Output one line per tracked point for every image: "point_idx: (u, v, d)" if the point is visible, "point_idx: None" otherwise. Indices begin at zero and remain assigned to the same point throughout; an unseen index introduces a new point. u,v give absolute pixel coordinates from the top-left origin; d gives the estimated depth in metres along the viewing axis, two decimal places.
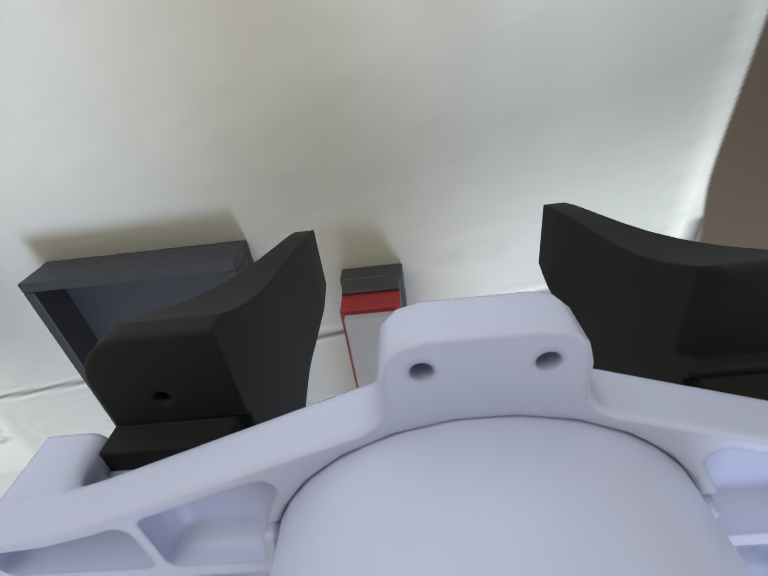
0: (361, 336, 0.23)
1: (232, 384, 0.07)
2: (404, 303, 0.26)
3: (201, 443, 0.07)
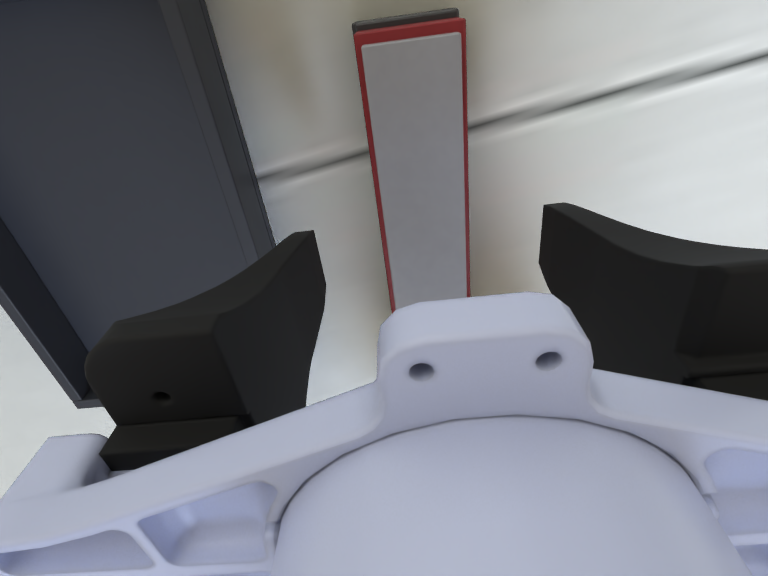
0: (392, 87, 0.13)
1: (232, 384, 0.07)
2: None
3: (201, 443, 0.07)
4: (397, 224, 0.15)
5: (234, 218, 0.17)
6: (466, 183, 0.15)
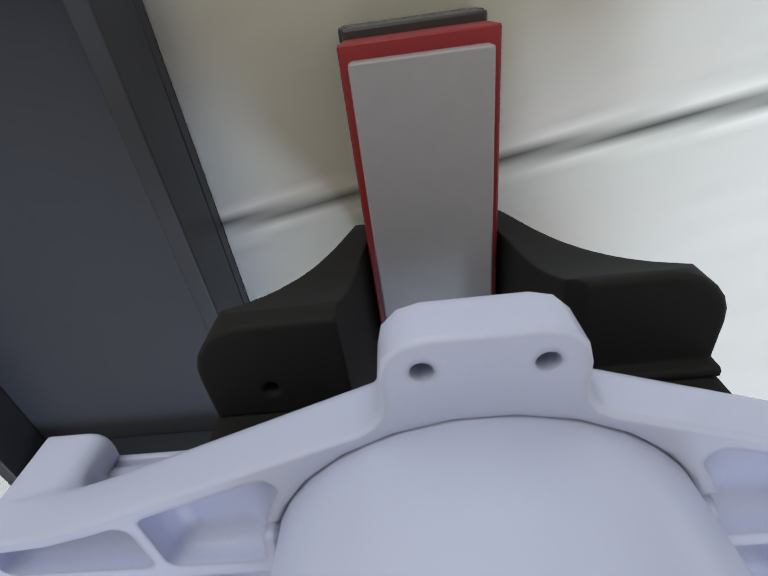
0: (393, 122, 0.09)
1: (345, 374, 0.07)
2: None
3: None
4: (400, 299, 0.11)
5: (188, 280, 0.13)
6: (494, 246, 0.11)
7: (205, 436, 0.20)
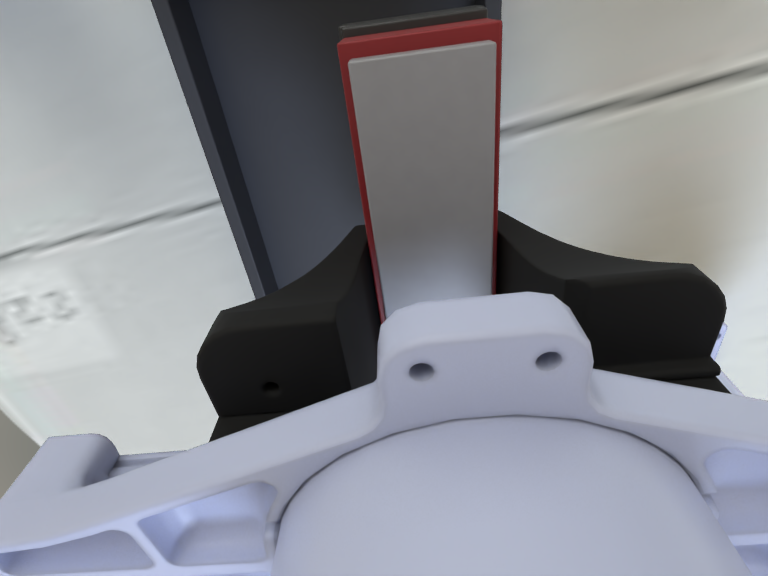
0: (393, 120, 0.09)
1: (345, 374, 0.07)
2: None
3: None
4: (400, 298, 0.11)
5: None
6: (494, 245, 0.11)
7: None
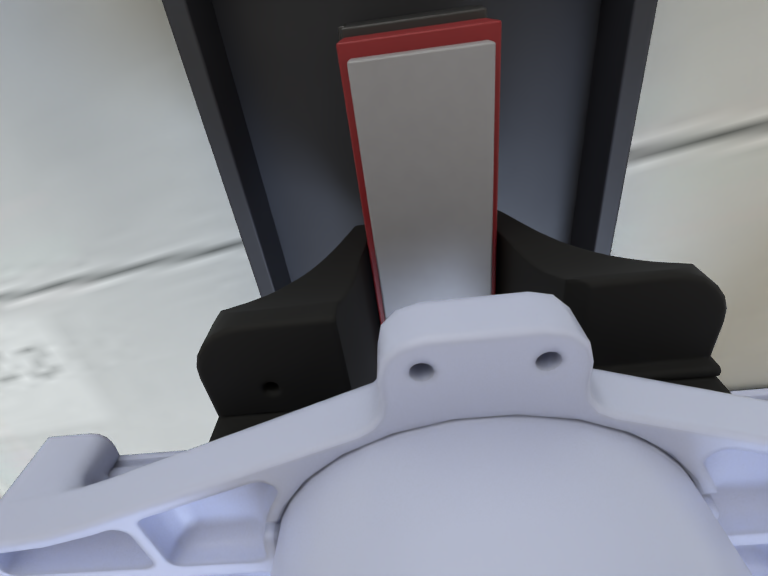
0: (392, 120, 0.09)
1: (345, 374, 0.07)
2: None
3: None
4: (399, 298, 0.11)
5: (605, 210, 0.14)
6: (494, 244, 0.11)
7: None
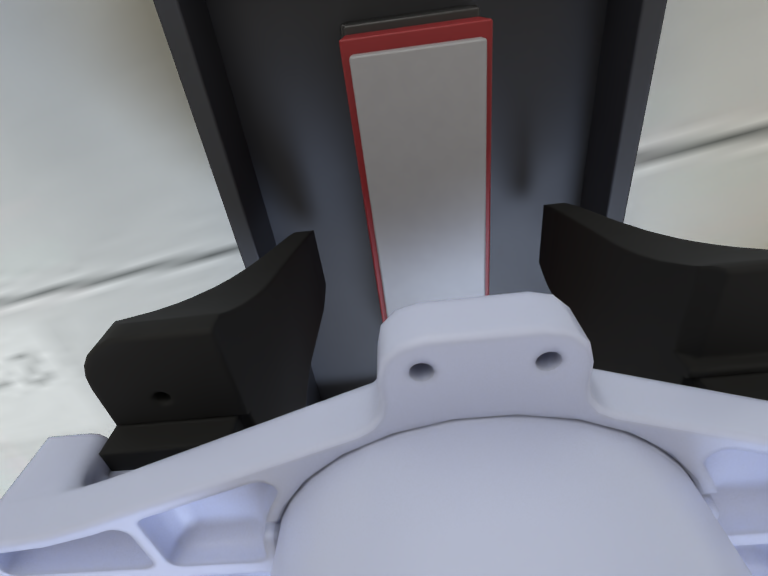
0: (391, 111, 0.09)
1: (232, 384, 0.07)
2: None
3: (201, 443, 0.07)
4: (398, 282, 0.12)
5: (610, 215, 0.13)
6: (487, 231, 0.11)
7: None
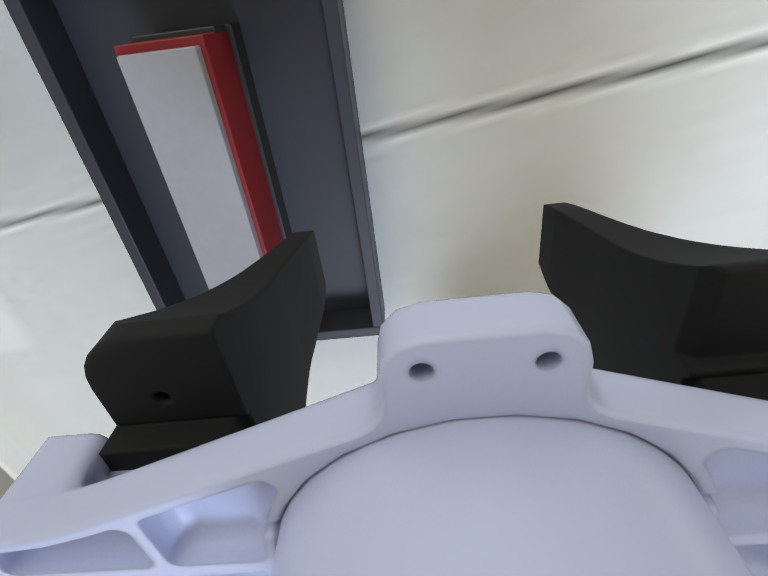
0: (150, 90, 0.15)
1: (232, 384, 0.07)
2: (243, 81, 0.18)
3: (201, 443, 0.07)
4: (186, 206, 0.18)
5: (350, 168, 0.19)
6: (241, 172, 0.17)
7: None
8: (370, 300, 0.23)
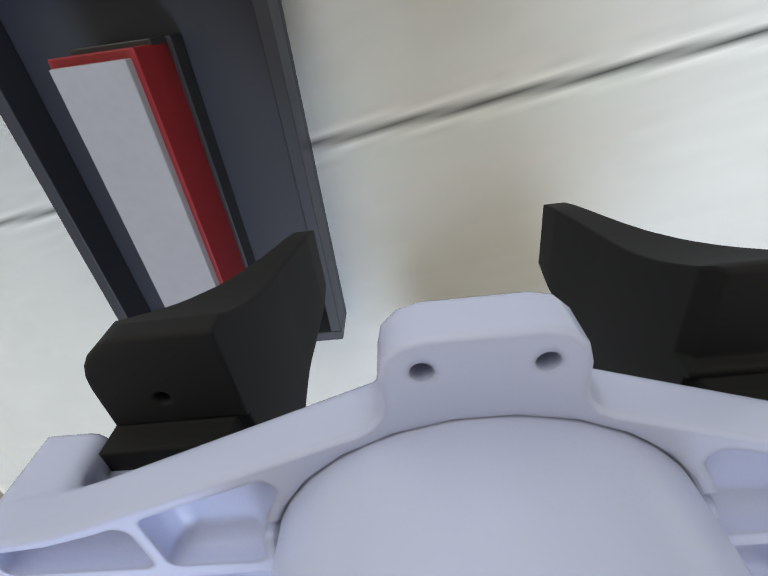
0: (84, 102, 0.16)
1: (232, 384, 0.07)
2: (187, 91, 0.18)
3: (201, 443, 0.07)
4: (130, 215, 0.18)
5: (296, 175, 0.20)
6: (182, 181, 0.18)
7: None
8: (326, 305, 0.24)
